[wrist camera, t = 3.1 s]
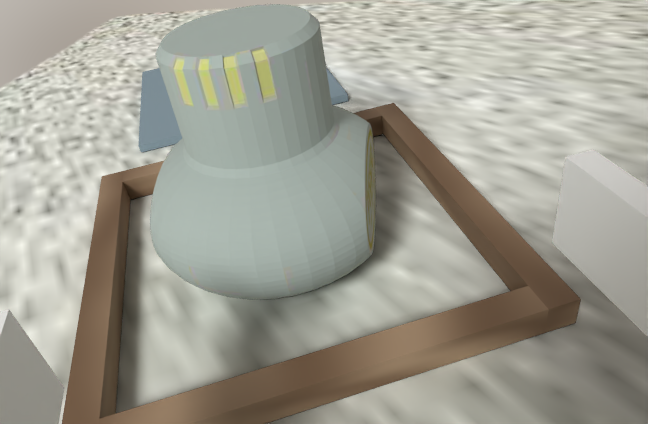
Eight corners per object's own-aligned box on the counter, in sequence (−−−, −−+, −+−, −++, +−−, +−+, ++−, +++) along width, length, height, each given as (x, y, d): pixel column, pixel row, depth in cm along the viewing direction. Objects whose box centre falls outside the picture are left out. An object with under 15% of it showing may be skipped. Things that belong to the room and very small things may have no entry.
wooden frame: (395, 120, 32) (393, 102, 32) (575, 322, 18) (580, 299, 18) (110, 193, 30) (102, 176, 29) (72, 486, 16) (55, 466, 16)
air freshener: (373, 336, 19) (340, 80, 13) (163, 338, 21) (49, 107, 15) (379, 174, 28) (360, -26, 22) (230, 183, 29) (176, -3, 23)
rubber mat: (301, 41, 47) (301, 35, 46) (348, 100, 36) (347, 94, 35) (144, 77, 45) (142, 72, 45) (141, 152, 34) (138, 145, 33)
